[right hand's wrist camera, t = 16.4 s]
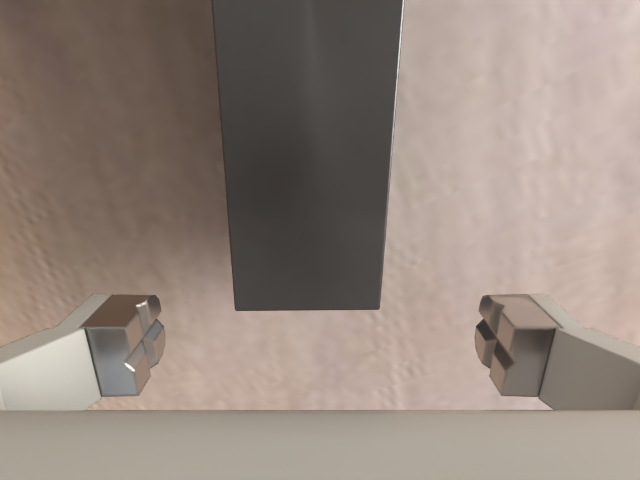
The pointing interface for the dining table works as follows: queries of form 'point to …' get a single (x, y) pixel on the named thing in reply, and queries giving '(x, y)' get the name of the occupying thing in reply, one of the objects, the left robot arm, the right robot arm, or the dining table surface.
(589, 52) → the dining table surface
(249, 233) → the box
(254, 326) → the dining table surface
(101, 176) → the dining table surface
